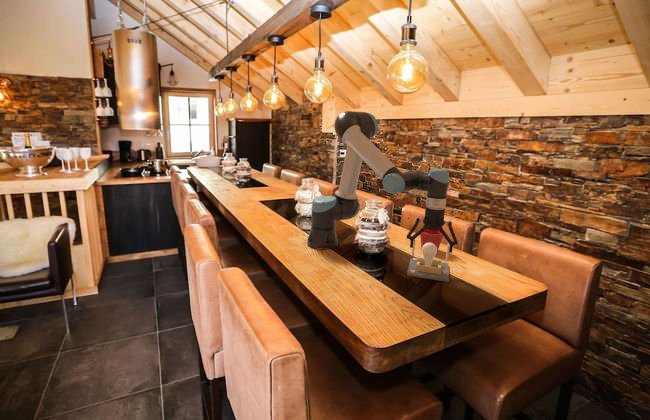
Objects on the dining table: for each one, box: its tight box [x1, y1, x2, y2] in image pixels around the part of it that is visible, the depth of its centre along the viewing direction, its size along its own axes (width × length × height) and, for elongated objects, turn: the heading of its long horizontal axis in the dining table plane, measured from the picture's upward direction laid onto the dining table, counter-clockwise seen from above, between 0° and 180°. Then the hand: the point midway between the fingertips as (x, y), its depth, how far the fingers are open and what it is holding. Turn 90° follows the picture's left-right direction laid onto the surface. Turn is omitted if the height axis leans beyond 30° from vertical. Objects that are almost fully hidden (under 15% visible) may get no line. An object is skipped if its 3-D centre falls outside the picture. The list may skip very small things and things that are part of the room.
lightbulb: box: [421, 243, 438, 266], centre depth 148 cm, size 6×6×11 cm
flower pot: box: [419, 229, 444, 252], centre depth 173 cm, size 11×11×10 cm
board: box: [406, 256, 450, 283], centre depth 149 cm, size 16×18×4 cm
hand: (429, 257), depth 148 cm, fingers open, 13 cm apart
